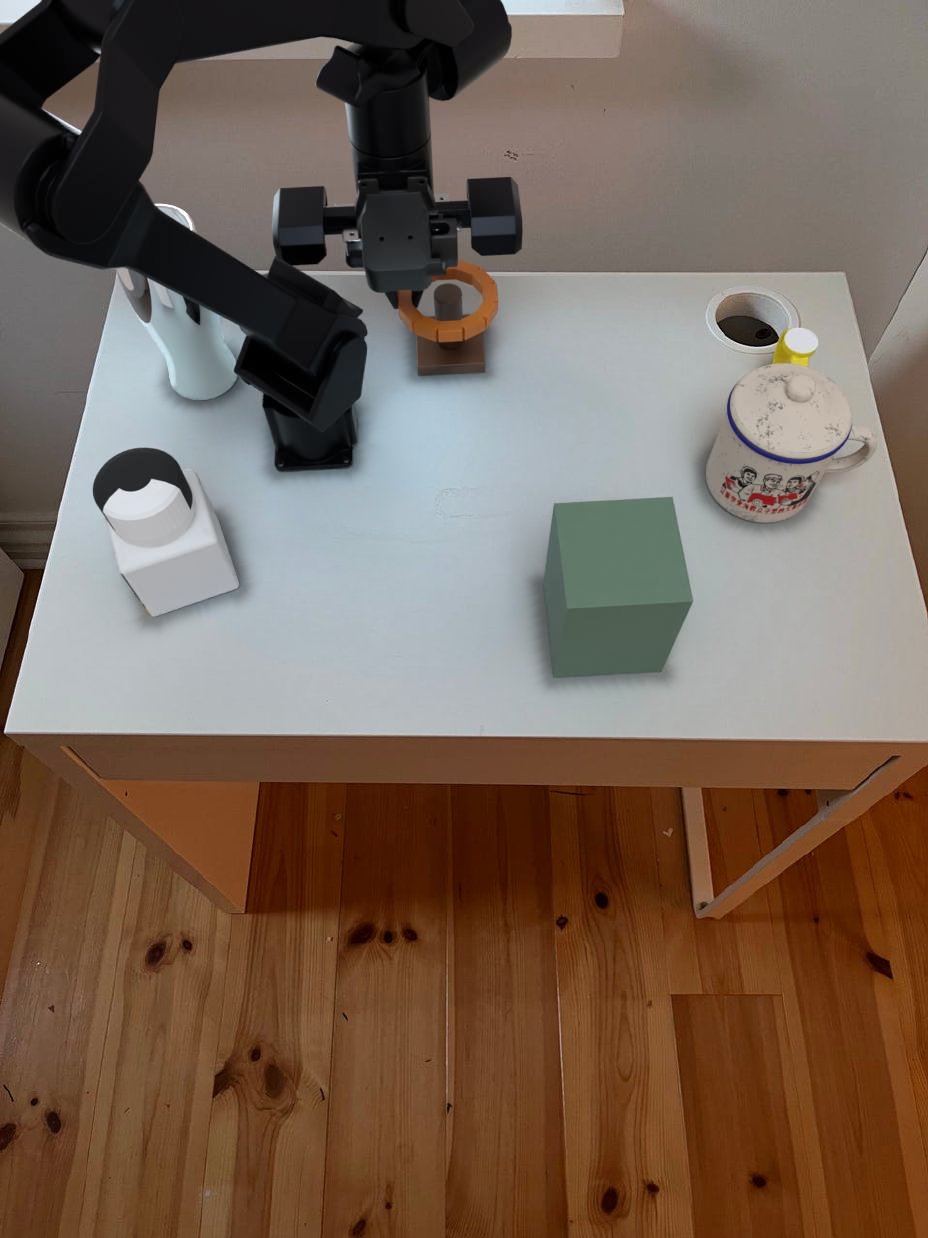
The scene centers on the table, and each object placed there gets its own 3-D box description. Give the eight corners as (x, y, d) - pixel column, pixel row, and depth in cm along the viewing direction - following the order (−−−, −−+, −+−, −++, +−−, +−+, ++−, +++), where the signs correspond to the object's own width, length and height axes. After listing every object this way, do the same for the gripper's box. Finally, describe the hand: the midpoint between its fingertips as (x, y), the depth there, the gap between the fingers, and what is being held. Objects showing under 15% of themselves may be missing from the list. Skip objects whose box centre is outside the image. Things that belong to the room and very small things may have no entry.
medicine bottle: (131, 546, 72) (71, 453, 61) (218, 518, 73) (173, 421, 62) (151, 619, 69) (91, 535, 58) (241, 589, 70) (198, 500, 59)
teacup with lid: (701, 522, 72) (739, 428, 62) (701, 432, 76) (736, 331, 66) (854, 535, 71) (918, 443, 61) (844, 444, 75) (903, 343, 65)
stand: (417, 376, 79) (413, 321, 74) (415, 326, 82) (411, 269, 76) (485, 372, 79) (486, 317, 74) (480, 323, 82) (481, 265, 76)
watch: (761, 361, 80) (781, 310, 74) (792, 363, 80) (815, 312, 74) (765, 414, 77) (786, 365, 72) (798, 416, 77) (822, 367, 71)
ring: (400, 344, 74) (399, 333, 73) (397, 272, 78) (396, 261, 77) (501, 339, 74) (501, 328, 73) (493, 267, 78) (493, 256, 77)
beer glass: (251, 347, 81) (206, 203, 68) (234, 407, 78) (184, 268, 65) (176, 343, 82) (117, 198, 68) (156, 402, 78) (91, 263, 65)
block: (553, 678, 66) (566, 608, 56) (543, 584, 70) (553, 502, 60) (661, 672, 66) (693, 601, 56) (645, 578, 70) (672, 496, 60)
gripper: (249, 217, 58) (292, 383, 72) (534, 203, 58) (523, 371, 72) (257, 110, 63) (296, 284, 77) (520, 97, 64) (512, 273, 77)
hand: (405, 305), depth 76 cm, fingers closed on ring, 1 cm apart
